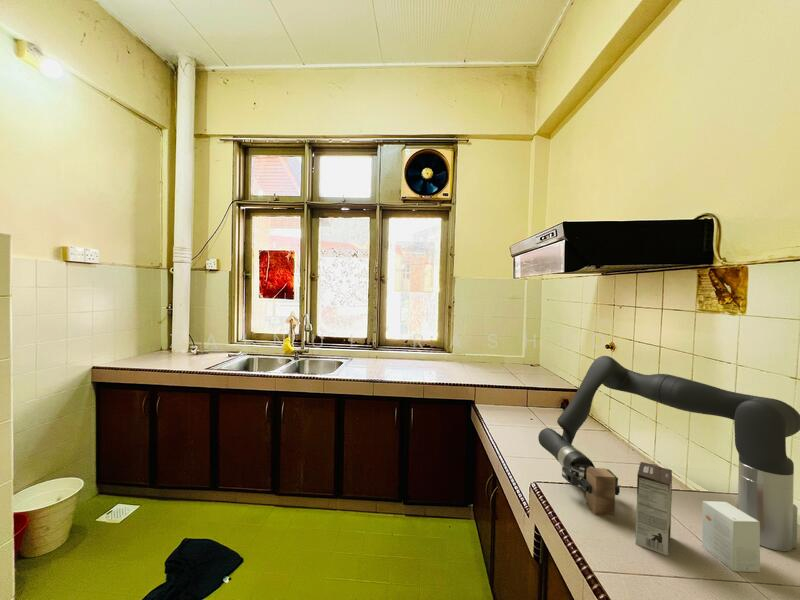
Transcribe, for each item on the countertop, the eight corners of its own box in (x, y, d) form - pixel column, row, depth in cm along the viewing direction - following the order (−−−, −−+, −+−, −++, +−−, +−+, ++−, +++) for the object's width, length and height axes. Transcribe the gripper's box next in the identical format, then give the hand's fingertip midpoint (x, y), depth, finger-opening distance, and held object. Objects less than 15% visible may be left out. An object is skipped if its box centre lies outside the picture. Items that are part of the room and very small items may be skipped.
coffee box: (638, 525, 89) (640, 460, 89) (671, 537, 85) (672, 469, 85) (634, 544, 82) (636, 473, 82) (669, 557, 78) (671, 483, 78)
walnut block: (604, 505, 98) (605, 468, 98) (614, 515, 93) (615, 477, 93) (585, 504, 98) (586, 467, 98) (595, 514, 93) (596, 476, 93)
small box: (760, 573, 74) (761, 522, 74) (733, 572, 74) (734, 521, 74) (725, 547, 82) (726, 501, 82) (701, 546, 82) (702, 500, 82)
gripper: (551, 449, 110) (576, 475, 94) (598, 451, 110) (632, 477, 93) (551, 473, 110) (576, 503, 94) (598, 476, 110) (631, 506, 93)
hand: (604, 490), depth 94 cm, fingers open, 6 cm apart
